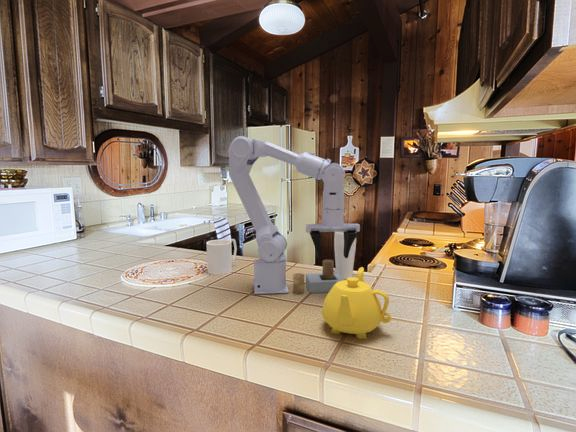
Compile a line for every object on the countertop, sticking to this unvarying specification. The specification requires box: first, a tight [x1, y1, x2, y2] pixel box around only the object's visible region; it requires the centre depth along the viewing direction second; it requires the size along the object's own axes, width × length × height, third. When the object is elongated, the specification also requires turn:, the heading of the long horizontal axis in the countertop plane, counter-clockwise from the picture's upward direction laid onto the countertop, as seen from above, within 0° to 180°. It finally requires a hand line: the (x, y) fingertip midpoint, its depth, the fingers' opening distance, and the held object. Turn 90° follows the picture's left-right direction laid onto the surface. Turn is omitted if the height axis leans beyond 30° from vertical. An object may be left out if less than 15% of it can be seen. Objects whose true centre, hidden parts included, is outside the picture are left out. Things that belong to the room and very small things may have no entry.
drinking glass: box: [333, 231, 357, 280], centre depth 108 cm, size 7×7×15 cm
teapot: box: [321, 266, 392, 340], centre depth 74 cm, size 20×15×12 cm
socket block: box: [305, 272, 343, 294], centre depth 100 cm, size 10×8×3 cm
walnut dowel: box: [322, 259, 335, 280], centre depth 100 cm, size 3×3×8 cm
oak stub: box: [292, 272, 305, 295], centre depth 97 cm, size 3×3×5 cm
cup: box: [206, 238, 238, 276], centre depth 117 cm, size 8×12×10 cm
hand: (332, 257), depth 94 cm, fingers open, 7 cm apart
